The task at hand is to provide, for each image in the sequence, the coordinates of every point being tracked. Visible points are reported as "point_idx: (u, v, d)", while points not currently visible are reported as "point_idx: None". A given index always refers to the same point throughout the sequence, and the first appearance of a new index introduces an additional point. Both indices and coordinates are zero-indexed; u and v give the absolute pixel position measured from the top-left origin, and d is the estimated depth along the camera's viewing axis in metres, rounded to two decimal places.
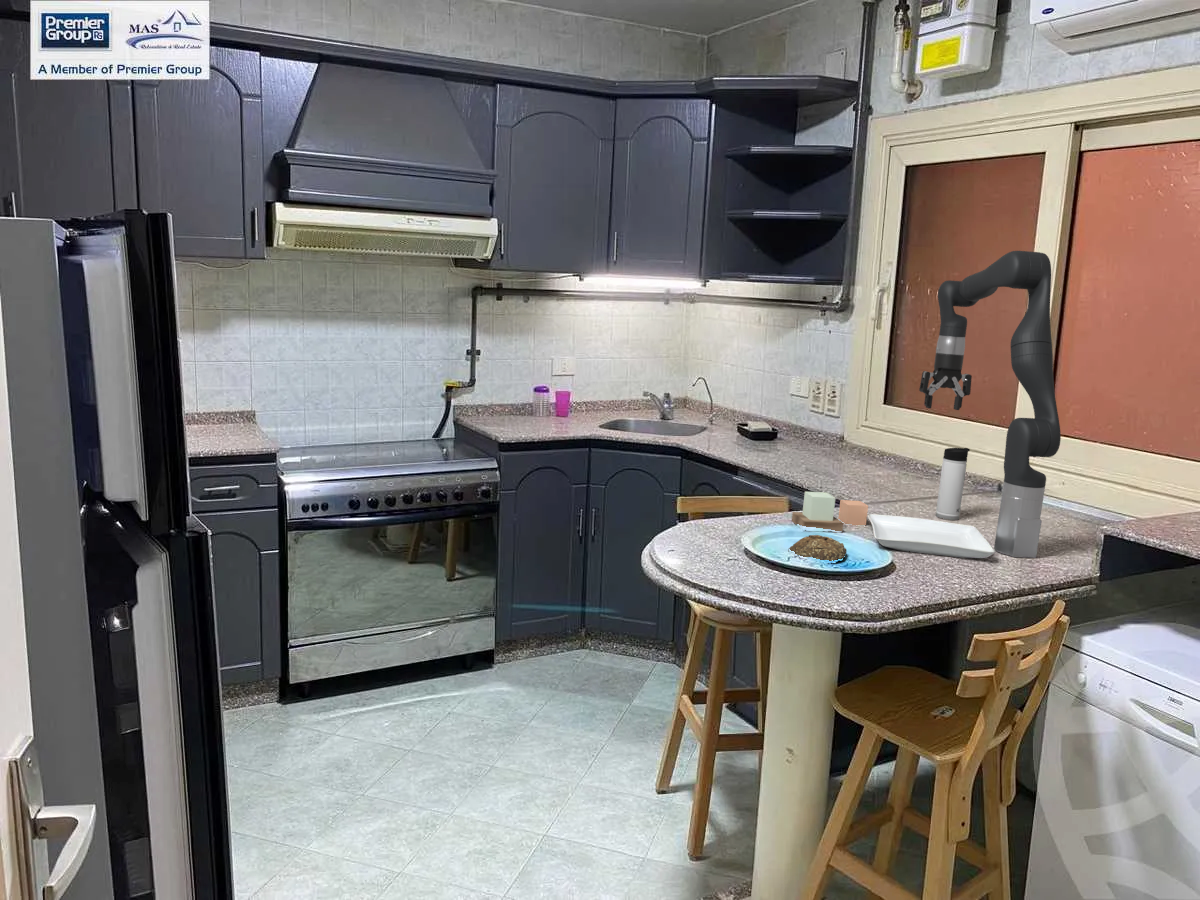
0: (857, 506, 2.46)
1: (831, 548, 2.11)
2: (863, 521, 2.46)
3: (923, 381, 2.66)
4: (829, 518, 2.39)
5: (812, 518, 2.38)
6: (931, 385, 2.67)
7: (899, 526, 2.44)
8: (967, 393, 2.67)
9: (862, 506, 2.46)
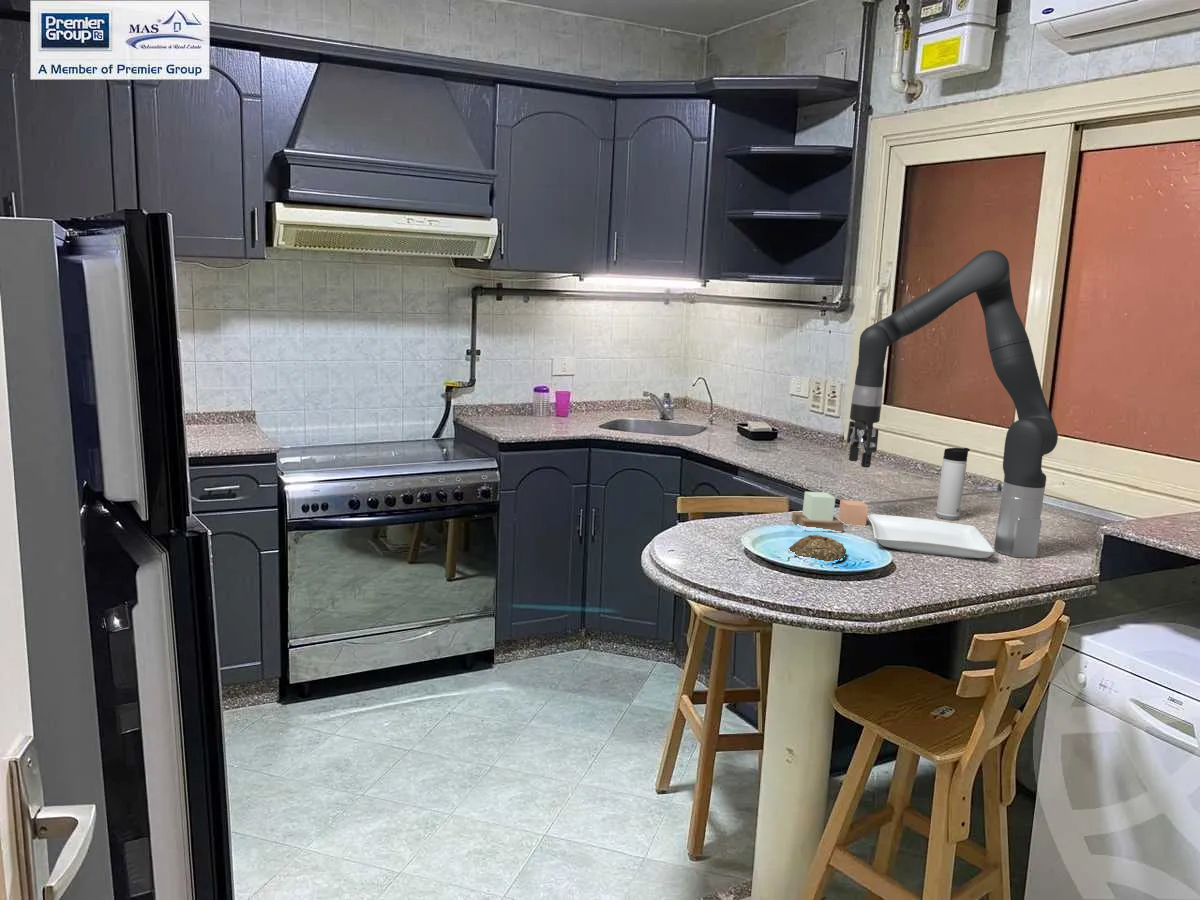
0: (857, 506, 2.46)
1: (830, 548, 2.10)
2: (863, 521, 2.46)
3: (874, 440, 2.38)
4: (829, 518, 2.39)
5: (812, 518, 2.38)
6: (865, 442, 2.41)
7: (899, 526, 2.44)
8: None
9: (862, 506, 2.46)
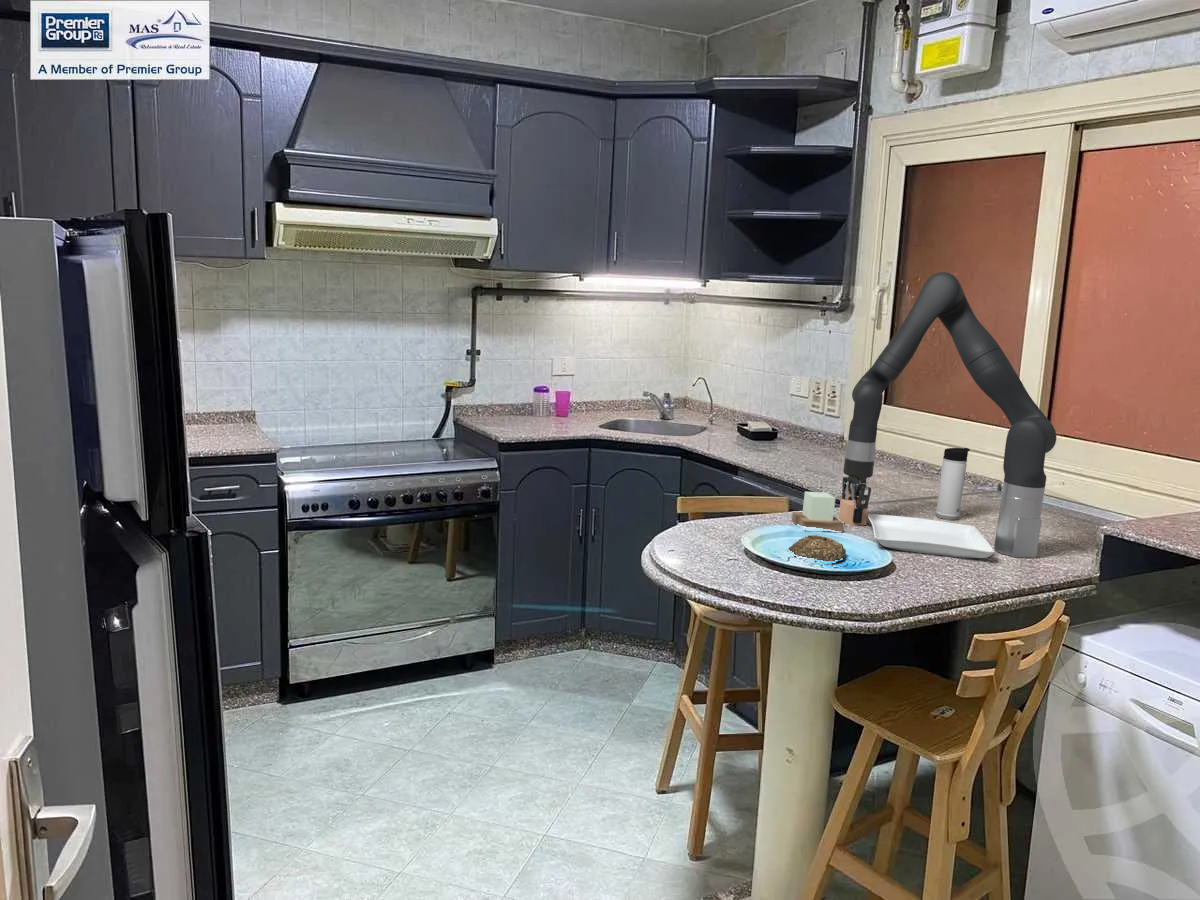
0: None
1: (830, 548, 2.10)
2: (863, 521, 2.46)
3: (866, 498, 2.42)
4: (829, 518, 2.39)
5: (812, 518, 2.38)
6: (857, 498, 2.45)
7: (899, 526, 2.44)
8: (851, 497, 2.53)
9: None
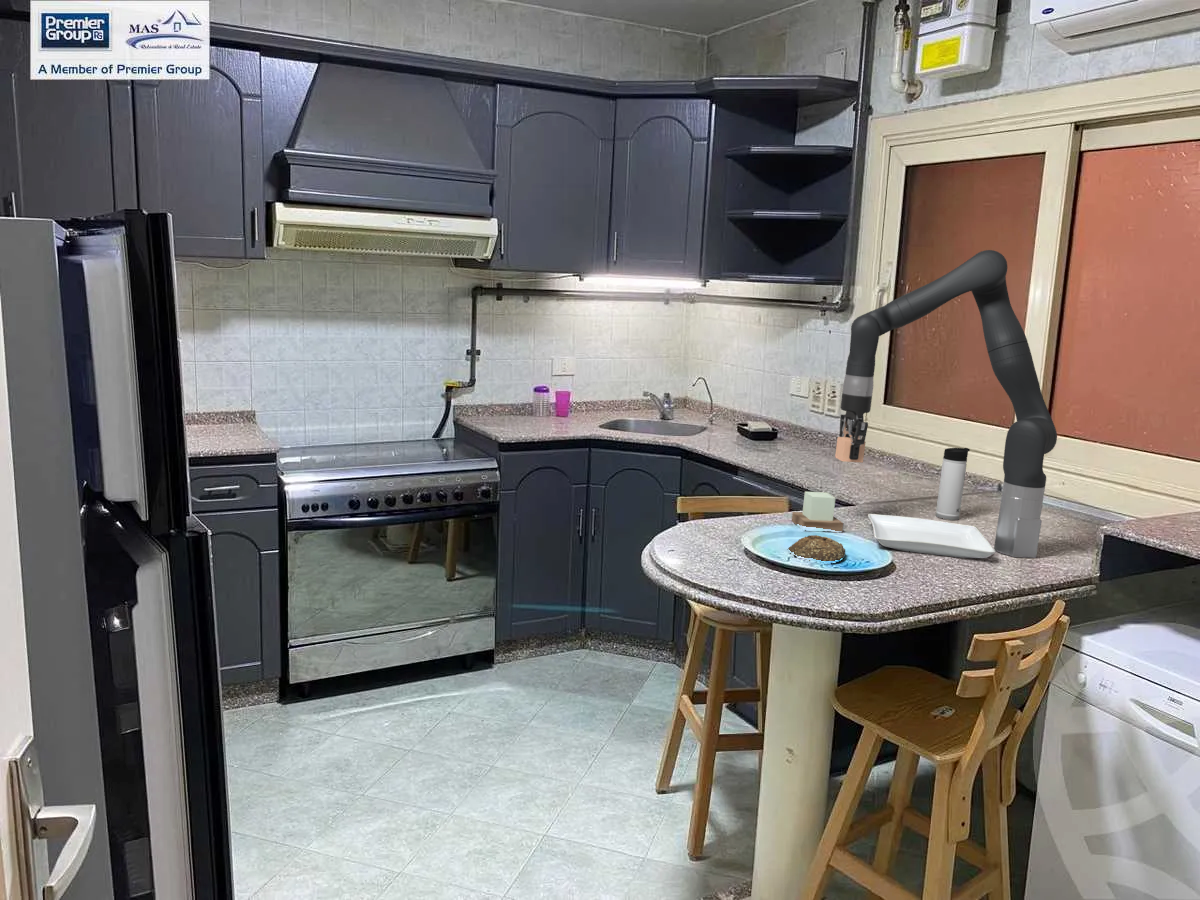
0: None
1: (830, 548, 2.10)
2: (860, 457, 2.42)
3: (863, 433, 2.37)
4: (829, 518, 2.39)
5: (812, 518, 2.38)
6: (854, 434, 2.40)
7: (900, 526, 2.44)
8: (849, 435, 2.49)
9: None
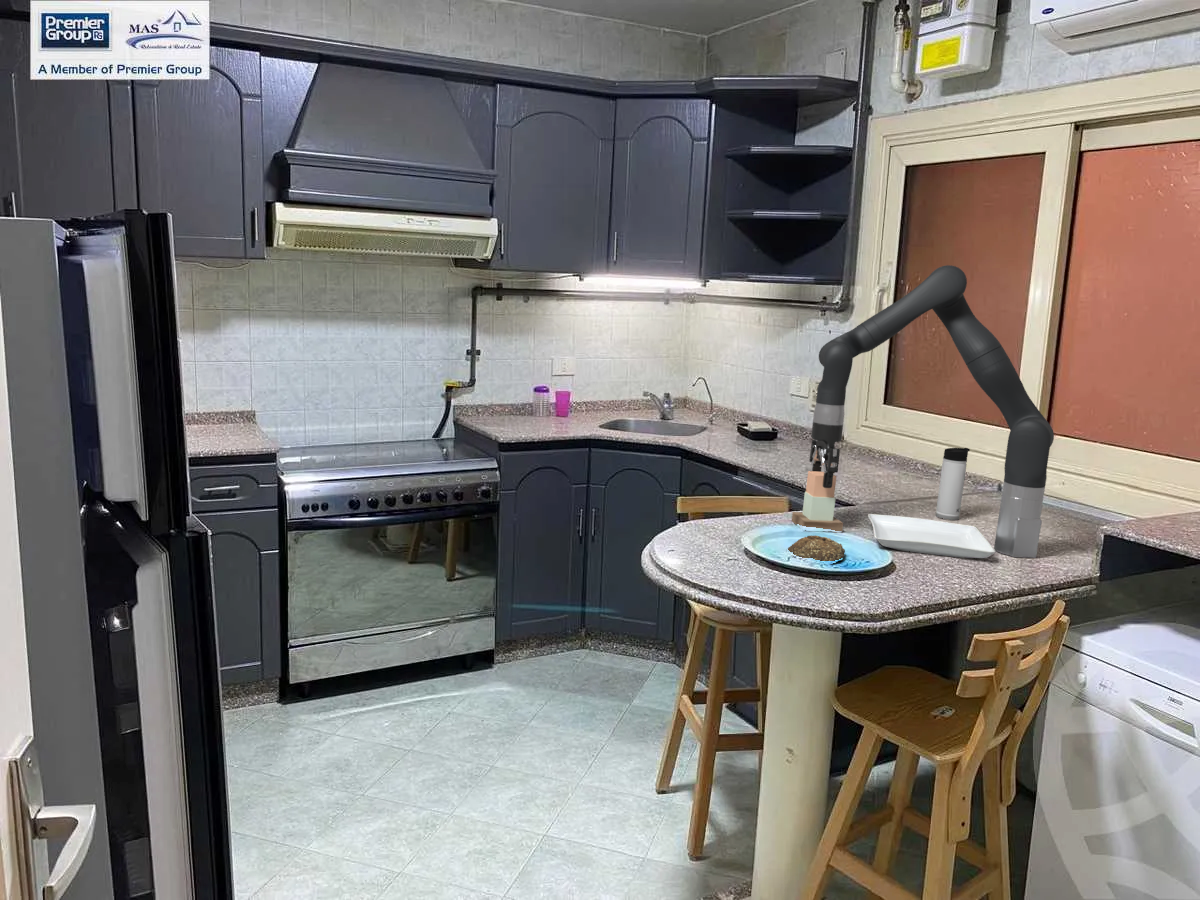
0: None
1: (829, 549, 2.10)
2: (831, 492, 2.38)
3: (835, 460, 2.32)
4: (830, 518, 2.39)
5: (812, 518, 2.38)
6: (827, 462, 2.35)
7: (900, 526, 2.44)
8: None
9: None
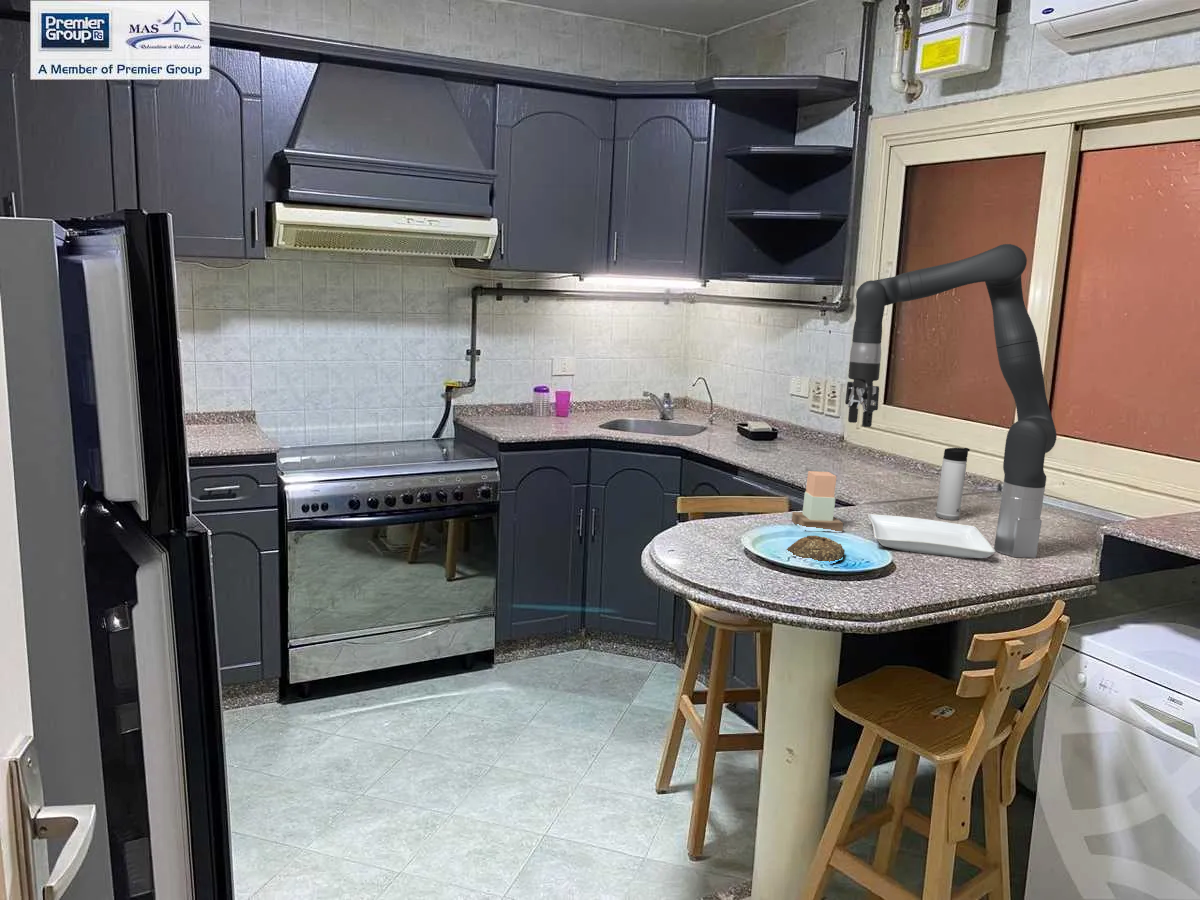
0: (825, 477, 2.37)
1: (829, 549, 2.10)
2: (831, 492, 2.38)
3: (875, 397, 2.31)
4: (830, 518, 2.39)
5: (812, 518, 2.38)
6: (865, 400, 2.34)
7: (900, 526, 2.44)
8: None
9: (830, 477, 2.37)
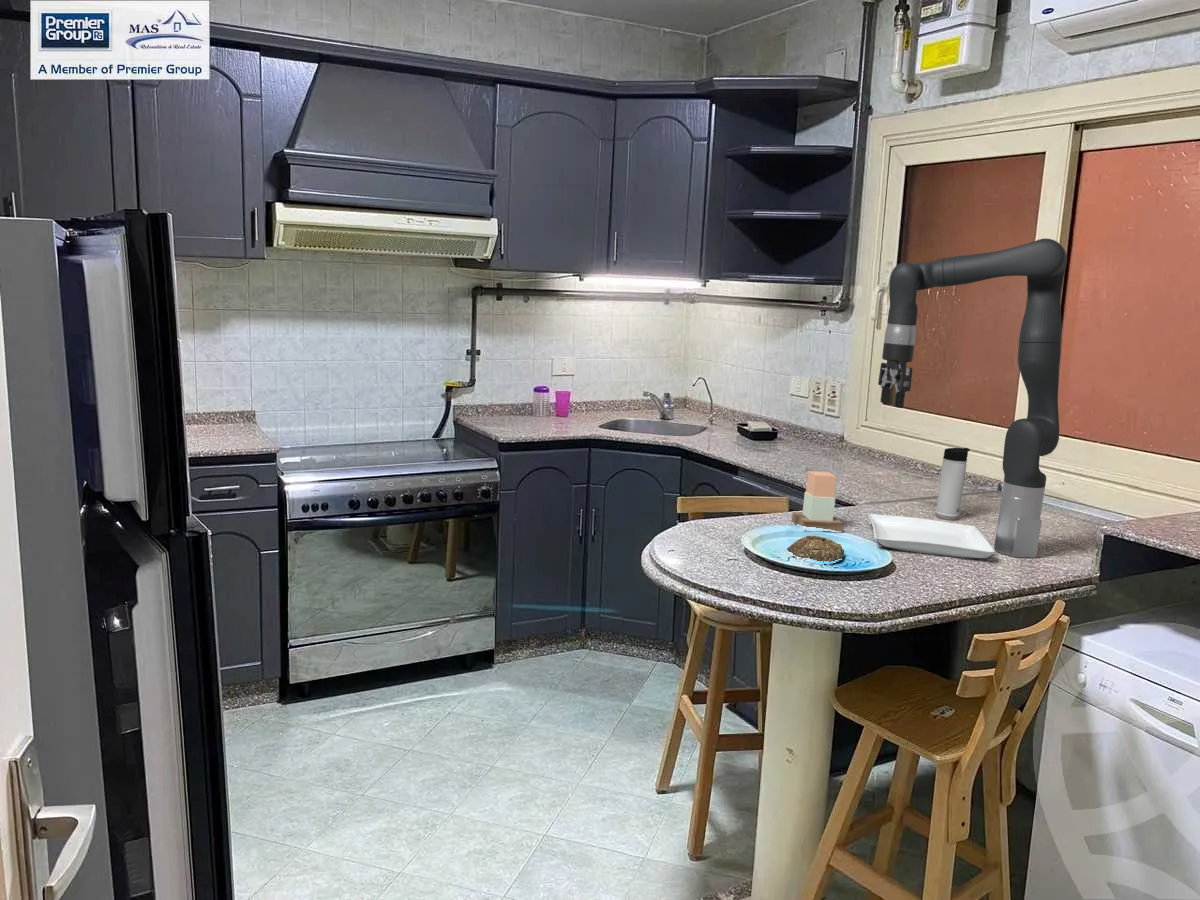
0: (825, 477, 2.37)
1: (828, 549, 2.10)
2: (831, 492, 2.38)
3: (908, 379, 2.34)
4: (830, 518, 2.39)
5: (812, 518, 2.38)
6: (898, 381, 2.37)
7: (900, 526, 2.44)
8: None
9: (830, 477, 2.37)
